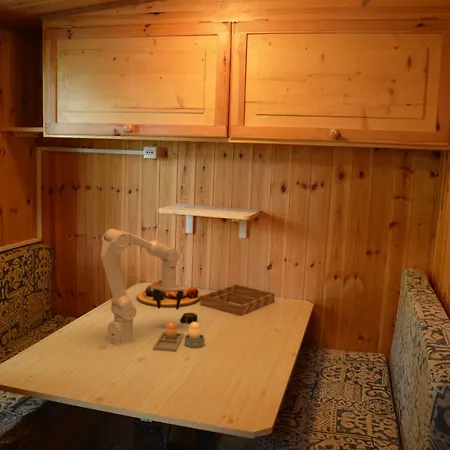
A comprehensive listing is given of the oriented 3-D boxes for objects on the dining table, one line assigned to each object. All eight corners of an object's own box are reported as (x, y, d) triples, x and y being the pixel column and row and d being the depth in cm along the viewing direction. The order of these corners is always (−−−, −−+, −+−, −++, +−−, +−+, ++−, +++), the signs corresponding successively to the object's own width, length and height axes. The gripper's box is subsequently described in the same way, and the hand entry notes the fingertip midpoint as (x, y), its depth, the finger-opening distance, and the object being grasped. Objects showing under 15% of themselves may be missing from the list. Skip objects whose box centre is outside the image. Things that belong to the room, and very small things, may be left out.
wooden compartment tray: (240, 316, 238) (241, 306, 237) (200, 305, 252) (200, 296, 251) (274, 302, 261) (274, 293, 260) (235, 292, 275) (235, 284, 274)
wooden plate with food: (212, 296, 268) (213, 281, 267) (176, 313, 241) (176, 295, 239) (162, 286, 284) (163, 271, 282) (123, 300, 257) (123, 284, 255)
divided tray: (175, 352, 194) (175, 348, 194) (152, 351, 195) (152, 347, 194) (183, 337, 210) (183, 333, 210) (162, 335, 211) (162, 331, 210)
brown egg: (171, 341, 203) (171, 324, 202) (162, 339, 206) (163, 322, 205) (178, 338, 206) (179, 321, 205) (170, 336, 209) (170, 319, 208)
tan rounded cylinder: (195, 342, 198) (195, 324, 197) (186, 339, 200) (186, 322, 199) (202, 339, 201) (202, 321, 200) (193, 336, 204) (194, 319, 203)
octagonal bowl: (195, 351, 196) (195, 342, 196) (180, 346, 201) (180, 337, 200) (208, 345, 202) (208, 336, 202) (193, 340, 207) (193, 332, 206)
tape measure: (183, 319, 231) (183, 311, 231) (198, 320, 230) (199, 312, 230) (179, 324, 225) (179, 316, 224) (195, 326, 223) (195, 317, 223)
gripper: (188, 275, 217) (187, 306, 219) (153, 273, 218) (153, 304, 220) (185, 279, 210) (184, 311, 212) (149, 277, 211) (149, 309, 213)
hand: (168, 308), depth 215 cm, fingers open, 7 cm apart
